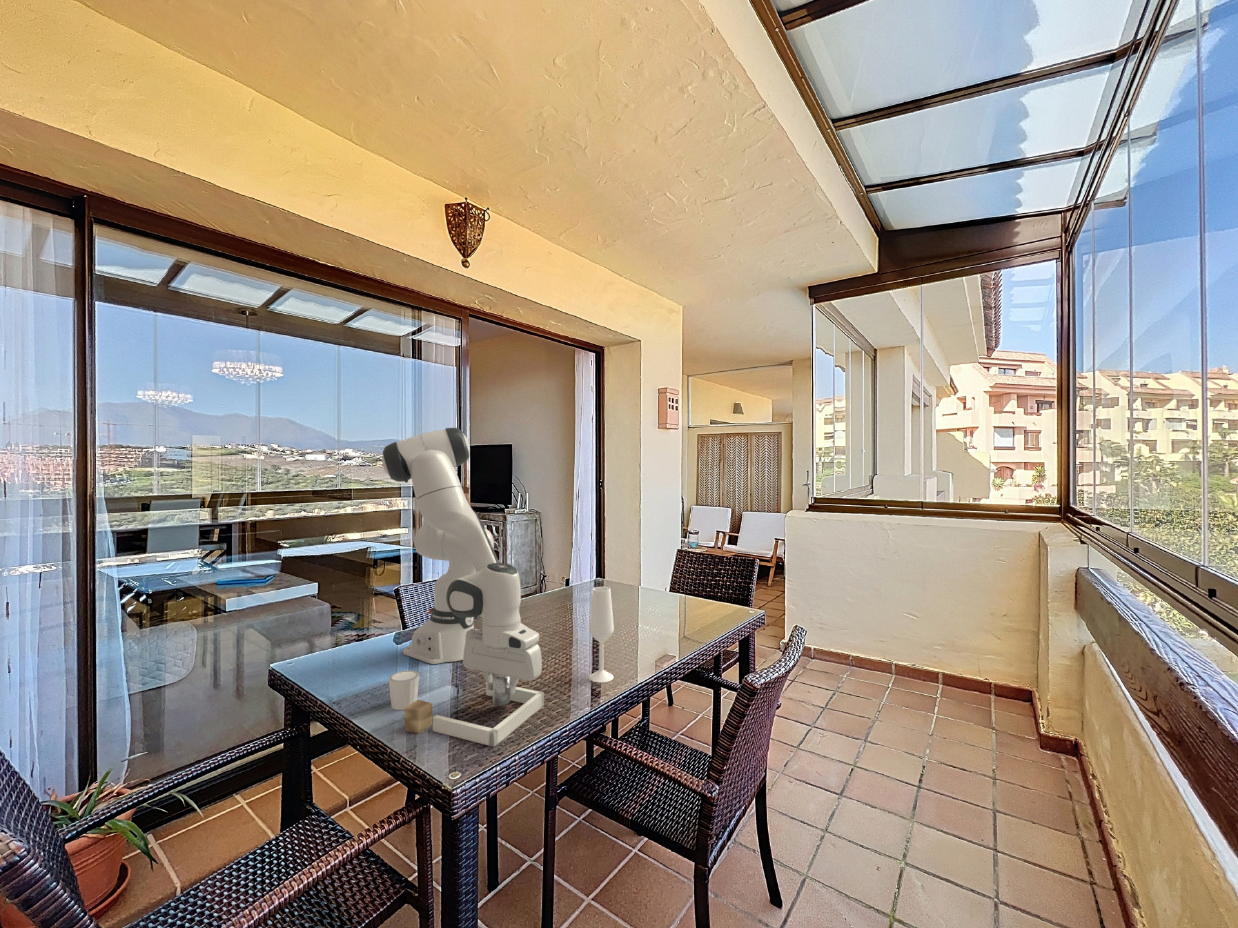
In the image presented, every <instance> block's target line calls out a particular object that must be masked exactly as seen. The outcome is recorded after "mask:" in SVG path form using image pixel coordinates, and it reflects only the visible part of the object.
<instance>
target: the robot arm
mask: <svg viewBox="0 0 1238 928" xmlns="http://www.w3.org/2000/svg"><path fill="white" fill-rule="evenodd" d="M470 451H471V448H470V442H469V440H468V438H467V436H466V435H465V434H464V433H463V430H462V429H460V428H458V427H446V428H445V429H439V430H433V431H427V432H421V434H418V435H414V436H411V437H408V438H406V439H402V440H401V441H398V442H397V441H395V442H391V443H389V444H388V445H386V446H385V447H384V448H383V450H382V457H381V463H382V467H383V469H384V471H385V473H386V474H387V475H388V476H389V478H390V479H391V480H393V481H395V482H397V483H398V482H399V483H401V482H402V483H403V482H404V483H405V484H406V483H409V481H410V480H411V482H412V486H413V487H412V488H413V492H414V497H415V500H416V503H417V506H418V511H419V512H420V515H421V516H422V517H421V518H423V521H422V525H421V526H420V527H419V529H418V530H417V531H416V533H415V536H414V540H413V541H414V542H413V543H414V549H415V550H416V552H417V553H418V555H420V556H423V557H426V558H427V559H431V560H434V561H435V560H436V561H437V560H438V561H445V562H448V563H449V564H448V569H447V571H446V573H444V574H442V575H441V576H440V577H438V578H437V580H436V581H435V583H434V606H433V607H432V608H430V609H428V610H426V611H427V613H426V615H429V614H430V616H429V619H428V620H427V621H426V622H425V623H423V624H422V625H421V626H420V627H418V628H417V629H416V630H415V631H414V632H413V634H412V637H411V644H409V645H408V646H406V647H405V648H404V649H403V651H402V654H403V655H404V656H407V657H409V658H414V659H416V660H418V661H421V662H425V663H428V664H430V665H436V664H437V665H438V664H443V663H449V662H450V663H451V662H458V661H462V664H463V666H464V668H466V669H469V670H474V671H480V672H482V676H483V678H484V680H485V682H486V683H487V690H491V691H493V674H494V675H496V674H499V675H504V676H509V677H510V685H509V686H507V687H506V694H509V695H513V694H514V693H515V691H516V687H517V684H518V682H519V681H520V680H524V681H530V682H533V681H534V680H536V679H537V678H538V677H539V676H540V675H541V674H542V671H543V670H542V668H543V665H542V664H543V663H542V659H543V658H542V650H541V647H540V645H539V644H538V642H539V641H540V634H539V633H538V631H535V630H533V629H531V628H530V627H528V626H526V625H525V624H524V623H522V622H521V621H522V620H521V614H520V606H521V602H522V601H521V600H522V597H521V596H522V592H521V581H520V580H521V579H520V575H519V571H518V569H517V568H516V567H515V566H513V565H511V564H508V563H504V562H500V560H499V559H498V557H497V553H496V552H495V550H494V547H495V540H494V536H493V534H492V533H491V531H490V530H488V529H486V528H485V527H484V525H483V523H482V521H481V519H480V517H479V516H478V515H477V513H476V512H475V511H474V510H473V508H472V507H471V505H470V503H469V501H468V500H467V498H466V495H465V493H464V489H463V488H462V484H461V482H460V479H459V476H458V474H457V472H456V469H455V467H460V466H461V465H464V464H465V463H467V462H468V459H469V458H470ZM476 617H480V618H481V619H482V620H481V621H482V625H481V626H482V627H481V628H482V629H477V628H475V626H474V625H475V624H474V622H475V621H474V620H475V618H476Z"/></svg>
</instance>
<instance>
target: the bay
mask: <svg viewBox="0 0 1238 928" xmlns="http://www.w3.org/2000/svg"><path fill="white" fill-rule="evenodd" d="M485 695H486V696H489V697H492V698H493V691H491V690H487V682H486V683H485ZM511 701H512V702H517V703H520V704H522V705H520V707H518V708H517V709H516V710H515V711H513V712H512V713H511V714H510V715H507V717H505V718H504V719H503V720H502V721H500V722H499V723H497V725H495V726H494V727H493V728H492V727H489V726H483V725H479V724H475V723H471V722H468V721H464V720H459V719H455V718H451V717H447V716H443V715H440V714H439V715H438V714H436V715H434V716H432V732H436V733H439V734H443V735H447V736H451V737H455V738H458V739H462V740H467V741H470V742H474V743H478V744H482V745H485V746H489V747H496V746H497V745H498V744H499V743H501V742H502V741H503V740H504V739H506V738H507V737H508V736H509V735H510V734H512V733H513V732H514V731H515V730H516V729H517V728H518V727H519V726H521V725H522V724H524V723H525V722H526V721H527V720H528V719H529V718H531V717H532V716H533V715H534V714H535V713H536V712H538V711H539V710H540V709H541V708H542V707H544V706H545V692H544V691H537V690H534V689H529V688H524V687H518V686H516V691H515V693H514V694H513V695H510V702H511Z"/></svg>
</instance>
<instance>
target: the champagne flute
mask: <svg viewBox="0 0 1238 928" xmlns="http://www.w3.org/2000/svg"><path fill="white" fill-rule="evenodd" d="M590 607H591V608H590V615H589V626H588V631H589V633H590V635H591V636H592V637H593V638H594V639H595V640H596V641H597V642H598V643H599V644H598V645H599V647H598V649H599V653H598V654H599V655H598V660H599V662H598V664H599V665H598V670H596V671H595V672H593V673H591V674H590V675H589V676H588V679H589V680H590V681H592V682H595V683H608V682H610V681H612V680H613V679H614V675H613V674H612V673H610V672H608V671H607V670H605V669H604V662H605V661H604V659H605V657H604V649H605V648H604V646H605V645H604V643H605V642H606V641H607V640H608V639H609V638H610V637H611V636H612V635H613V633H614V630H615V628H614V616H613V615H614V614H613V603H612V593H611V588H610V587H607V586H597V587H596V586H595V587H593V588H592V596H591V606H590Z"/></svg>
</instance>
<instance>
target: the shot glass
mask: <svg viewBox="0 0 1238 928" xmlns="http://www.w3.org/2000/svg"><path fill="white" fill-rule="evenodd" d="M419 682H420V672H419V671H416V670H412V669H411V670H402V671H397V672H394V673H392V674H391V675H390V676H389V677H388V685H389V694H390V704H391V706H390V708H392V709H393V710H396V711H405V707H406V706H408V705H410V704H411V703H413V702H415V701H417V700H418V694H419V684H420V683H419Z"/></svg>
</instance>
